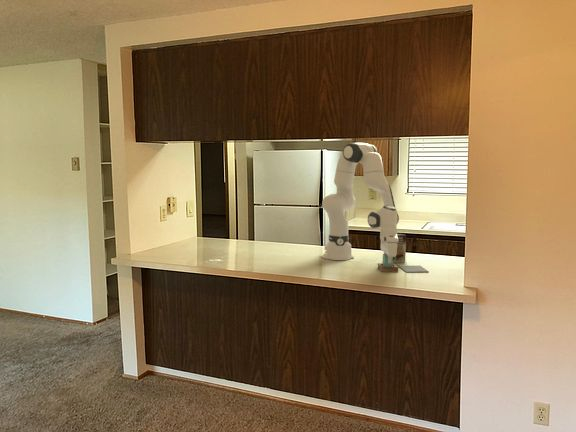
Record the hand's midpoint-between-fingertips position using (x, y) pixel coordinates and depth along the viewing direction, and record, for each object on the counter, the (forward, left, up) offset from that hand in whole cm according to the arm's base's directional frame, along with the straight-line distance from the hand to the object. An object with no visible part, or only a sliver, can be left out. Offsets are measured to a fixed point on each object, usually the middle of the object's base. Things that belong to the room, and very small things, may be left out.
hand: (387, 261), depth 264 cm
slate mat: (0, +14, -4) cm, 15 cm away
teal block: (0, 0, -4) cm, 4 cm away
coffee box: (-20, +10, -5) cm, 23 cm away
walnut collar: (0, 0, -4) cm, 4 cm away
